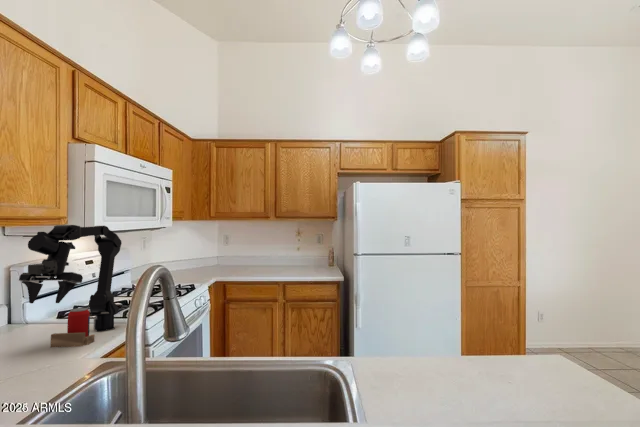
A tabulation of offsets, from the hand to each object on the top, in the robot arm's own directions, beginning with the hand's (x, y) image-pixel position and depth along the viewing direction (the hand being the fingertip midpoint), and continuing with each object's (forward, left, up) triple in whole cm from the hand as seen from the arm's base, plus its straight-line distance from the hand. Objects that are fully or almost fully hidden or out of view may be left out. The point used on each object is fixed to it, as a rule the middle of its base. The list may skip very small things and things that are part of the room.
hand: (44, 303), depth 113 cm
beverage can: (-11, -8, -17) cm, 22 cm away
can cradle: (-9, -5, -17) cm, 20 cm away
